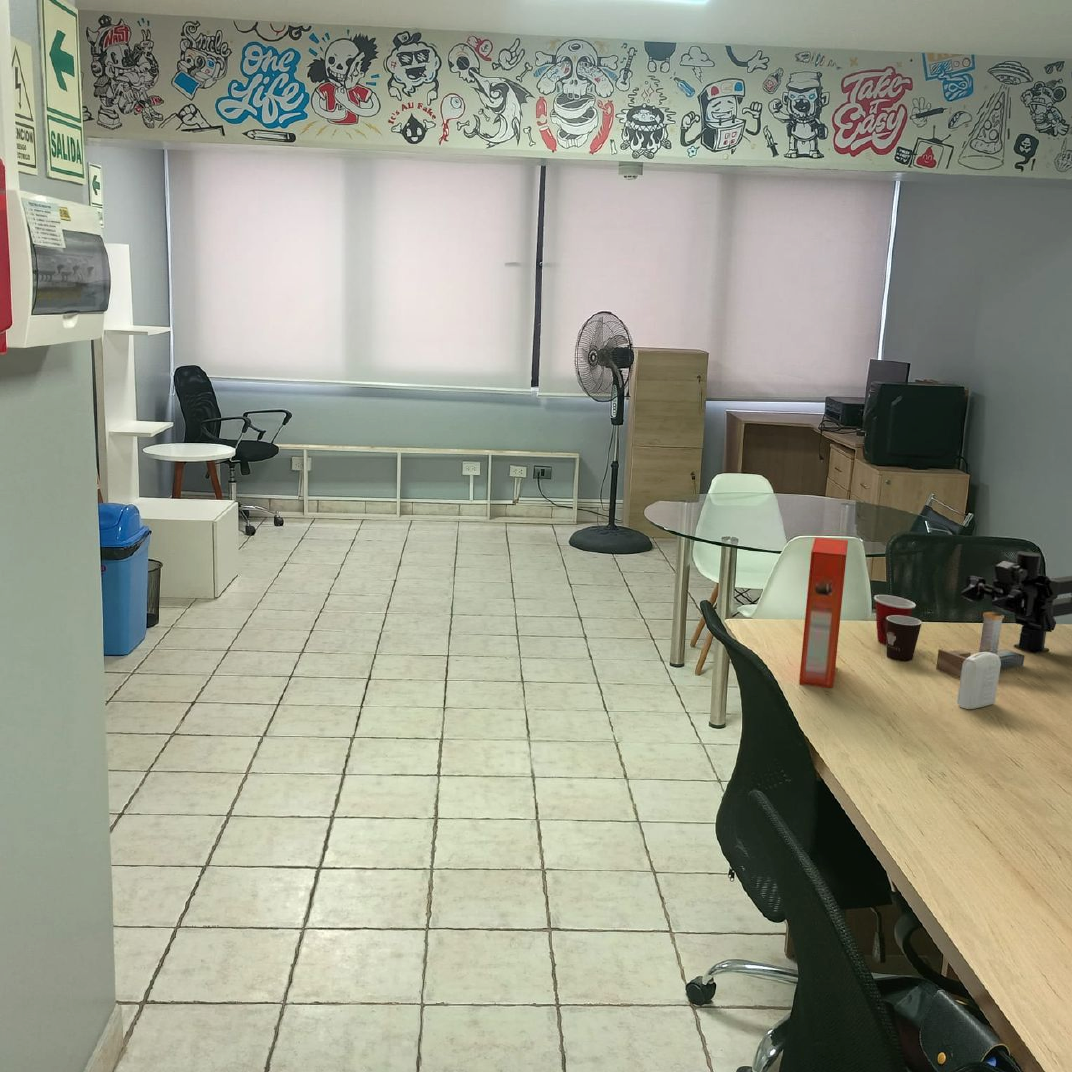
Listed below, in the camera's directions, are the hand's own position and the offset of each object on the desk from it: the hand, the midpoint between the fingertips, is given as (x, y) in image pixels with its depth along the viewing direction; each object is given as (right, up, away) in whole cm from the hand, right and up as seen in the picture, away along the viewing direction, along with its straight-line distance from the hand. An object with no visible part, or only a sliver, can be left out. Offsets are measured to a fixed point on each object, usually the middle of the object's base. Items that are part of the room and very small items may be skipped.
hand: (976, 598), depth 277 cm
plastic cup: (-17, -13, +16) cm, 27 cm away
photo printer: (-12, -23, -28) cm, 38 cm away
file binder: (-44, -18, -13) cm, 49 cm away
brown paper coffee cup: (-18, -15, +5) cm, 24 cm away
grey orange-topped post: (+4, -16, 0) cm, 17 cm away
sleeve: (+6, -17, +1) cm, 18 cm away
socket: (-6, -18, -6) cm, 20 cm away
